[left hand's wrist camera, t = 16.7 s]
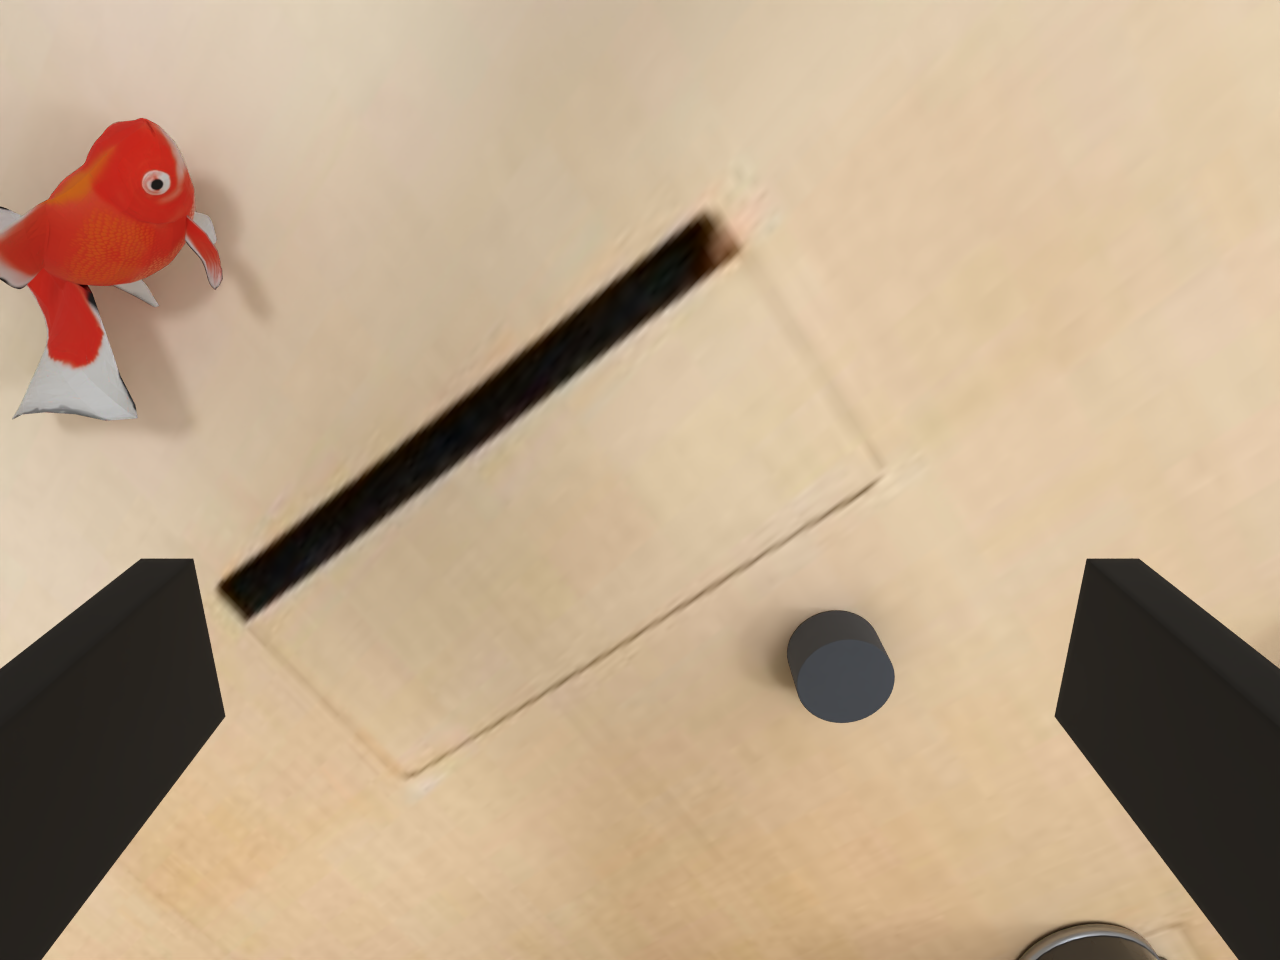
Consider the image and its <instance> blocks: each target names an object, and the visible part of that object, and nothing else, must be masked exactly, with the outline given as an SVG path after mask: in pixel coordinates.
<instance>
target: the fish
mask: <svg viewBox="0 0 1280 960" xmlns="http://www.w3.org/2000/svg"><path fill="white" fill-rule="evenodd" d="M195 207H196V206H195V196H194V187H193V184H192V181H191V178H190V176H189V173H188V170H187V167H186V164H185V162H184V159H183V157H182V155H181V152H180V150H179V148H178V147H177V145H176V143H175V142H174V140H173V139H172V138H171V137H170V136H169V135H168V134H167V133H166V132H165V131H164V130H163V129H162V128H161V127H160V126H158V125H157V124H155V123H153V122H151V121H149V120H147V119H144V118H140V119H137V120H133V121H123V122H116V123H113V124H112V125H110V126H109V127H108V128H107V129H106V130H105V131H104V133H103V134H102V135H101V136H100V137H99V138H98V139H97V140H96V142H95V143H94V144H93V146H92V148H91V150H90V152H89V154H88V156H87V159H86V162H85V163H84V165H82V166H81V167H80V168H79V169H77V170H76V171H74V172H73V173H72V174H70V175H69V176H68V177H66V178H65V179H64V180H63V181H62V182H61V183H60V184H59V185H58V187H57V188H56V189H55V191H54V192H53V193H52V194H51V196H50V198H49V199H48V200H46V201H44V202H42V203H41V204H39V205H37V206H36V207H34V208H33V209H31V210H30V211H29V212H27V213H26V214H24V215H23V216H21V215H19V214H17V213H15V212H13V211H11V210H9V209H6V208H3V207H0V279H1V280H2V281H4V282H5V283H6V284H8V285H10V286H11V287H13V288H17V289H21V288H23V287H25V286H26V285H27V286H28V288H29V289H30V290H31V292H32V294H33V295H34V297H35V299H36V301H37V302H38V304H39V306H40V308H41V310H42V312H43V315H44V318H45V321H46V326H47V343H46V347H45V350H44V352H43V355H42V357H41V360H40V362H39V365H38V367H37V369H36V371H35V373H34V376H33V378H32V380H31V382H30V384H29V386H28V389H27V391H26V393H25V396H24V398H23V400H22V402H21V404H20V406H19V408H18V410H17V412H16V413H15V415H14V417H13V418H12V419H14V418H16V417H18V416H20V415H22V414H30V413H42V412H49V413H66V414H77V415H82V416H87V417H91V418H96V419H101V420H105V421H106V420H119V419H132V418H138V417H137V412H136V406H135V403H134V401H133V400H132V398H131V396H130V394H129V392H128V390H127V388H126V386H125V384H124V382H123V380H122V378H121V376H120V373H119V370H118V367H117V364H116V361H115V358H114V355H113V352H112V349H111V346H110V343H109V340H108V337H107V334H106V332H105V329H104V326H103V323H102V320H101V317H100V314H99V312H98V309H97V306H96V303H95V300H94V297H93V294H92V292H91V290H90V289H89V287H88V285H95V286H111V285H113V286H115V287H117V288H119V289H121V290H123V291H126V292H128V293H130V294H132V295H134V296H136V297H137V298H139V299H141V300H143V301H145V302H146V303H148V304H150V305H152V306H153V307H157V306H159V305H158V303H157V302H156V300H155V298H154V297H153V295H152V293H151V291H150V290H149V288H148V287H147V285H146V284H145V283H144V282H143V281H142V279H144V278H146V277H148V276H150V275H152V274H153V273H155V272H157V271H159V270H160V269H162V268H164V267H165V266H167V265H168V264H169V263H170V262H171V261H172V260H173V259H174V258H175V256H176V255H177V254H178V252H179V251H180V250H181V248H182V247H183V246H184V244H185V242H186V243H187V244H188V245H189V246H190V248H191V249H192V250H193V251H194V252H195V253H196V254H197V255H198V256H199V258H200V259H201V260H202V262H203V264H204V267H205V270H206V273H207V277H208V280H209V283H210V285H211V286H212V287H213V288H214V289H216V288H217V287H218V286H219V285H220V283H221V281H222V279H223V278H222V268H221V266H220V258H219V254H218V251H217V249H216V248H215V246H214V244H215V243H216V241H217V238H216V233H215V230H214V227H213V223H212V221H211V219H210V217H209V216H207V215H206V214H203V213H198V212H196V211H195Z"/></svg>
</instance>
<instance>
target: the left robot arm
mask: <svg viewBox="0 0 1280 960" xmlns="http://www.w3.org/2000/svg"><path fill="white" fill-rule="evenodd" d="M224 718H225V712H224V707H223V702H222V697H221V693H220V688H219V683H218V678H217V673H216V668H215V663H214V658H213V653H212V648H211V643H210V639H209V634H208V629H207V624H206V619H205V614H204V609H203V604H202V599H201V594H200V589H199V584H198V580H197V575H196V570H195V565H194V560H193V559H140V560H139V561H138V562H136V563H135V564H134V565H132V566H131V567H130V568H129V569H127V570H126V571H125V572H124V573H122V574H121V575H120V576H118V577H117V578H116V579H115V580H113V581H112V582H111V583H109V584H108V585H107V586H106V587H104V588H103V589H102V590H101V591H99V592H98V593H97V594H95V595H94V596H93V597H92V598H90V599H89V600H88V601H86V602H85V603H84V604H83V605H81V606H80V607H79V608H78V609H76V610H75V611H74V612H72V613H71V614H70V615H69V616H67V617H66V618H65V619H63V620H62V621H61V622H60V623H58V624H57V625H56V626H55V627H53V628H52V629H51V630H49V631H48V632H47V633H46V634H44V635H43V636H42V637H41V638H39V639H38V640H37V641H35V642H34V643H33V644H32V645H30V646H29V647H28V648H26V649H25V650H24V651H23V652H21V653H20V654H19V655H18V656H16V657H15V658H14V659H12V660H11V661H10V662H9V663H7V664H6V665H5V666H3V667H2V668H1V669H0V960H42V958H43V957H44V956H45V954H46V953H47V952H48V950H49V949H50V948H51V946H52V945H53V944H54V942H55V941H56V940H57V938H58V937H59V936H60V934H61V933H62V932H63V930H64V929H65V928H66V926H67V925H68V924H69V923H70V921H71V920H72V919H73V917H74V916H75V915H76V913H77V912H78V911H79V909H80V908H81V907H82V905H83V904H84V903H85V901H86V900H87V899H88V897H89V896H90V895H91V893H92V892H93V891H94V889H95V888H96V887H97V885H98V884H99V883H100V882H101V880H102V879H103V878H104V876H105V875H106V874H107V872H108V871H109V870H110V868H111V867H112V866H113V864H114V863H115V862H116V860H117V859H118V858H119V856H120V855H121V854H122V852H123V851H124V850H125V848H126V847H127V846H128V844H129V843H130V842H131V841H132V839H133V838H134V837H135V835H136V834H137V833H138V831H139V830H140V829H141V827H142V826H143V825H144V823H145V822H146V821H147V819H148V818H149V817H150V815H151V814H152V813H153V811H154V810H155V809H156V807H157V806H158V805H159V803H160V802H161V801H162V800H163V798H164V797H165V796H166V794H167V793H168V792H169V790H170V789H171V788H172V786H173V785H174V784H175V782H176V781H177V780H178V778H179V777H180V776H181V774H182V773H183V772H184V770H185V769H186V768H187V766H188V765H189V764H190V763H191V761H192V760H193V759H194V757H195V756H196V755H197V753H198V752H199V751H200V749H201V748H202V747H203V745H204V744H205V743H206V741H207V740H208V739H209V737H210V736H211V735H212V733H213V732H214V731H215V729H216V728H217V727H218V725H219V724H220V723H221V722H222V720H223V719H224ZM1055 718H1056V719H1057V720H1058V722H1059V723H1060V724H1061V725H1062V727H1063V728H1064V729H1065V731H1066V732H1067V733H1068V735H1069V736H1070V737H1071V739H1072V740H1073V741H1074V743H1075V744H1076V745H1077V747H1078V748H1079V749H1080V751H1081V752H1082V753H1083V755H1084V756H1085V757H1086V759H1087V760H1088V761H1089V763H1090V764H1091V765H1092V766H1093V768H1094V769H1095V770H1096V772H1097V773H1098V774H1099V776H1100V777H1101V778H1102V780H1103V781H1104V782H1105V784H1106V785H1107V786H1108V788H1109V789H1110V790H1111V792H1112V793H1113V794H1114V796H1115V797H1116V798H1117V800H1118V801H1119V802H1120V804H1121V805H1122V806H1123V807H1124V809H1125V810H1126V811H1127V813H1128V814H1129V815H1130V817H1131V818H1132V819H1133V821H1134V822H1135V823H1136V825H1137V826H1138V827H1139V829H1140V830H1141V831H1142V833H1143V834H1144V835H1145V837H1146V838H1147V839H1148V841H1149V842H1150V843H1151V844H1152V846H1153V847H1154V848H1155V850H1156V851H1157V852H1158V854H1159V855H1160V856H1161V858H1162V859H1163V860H1164V862H1165V863H1166V864H1167V866H1168V867H1169V868H1170V870H1171V871H1172V872H1173V874H1174V875H1175V876H1176V878H1177V879H1178V880H1179V882H1180V883H1181V884H1182V885H1183V887H1184V888H1185V889H1186V891H1187V892H1188V893H1189V895H1190V896H1191V897H1192V899H1193V900H1194V901H1195V903H1196V904H1197V905H1198V907H1199V908H1200V909H1201V911H1202V912H1203V913H1204V915H1205V916H1206V917H1207V919H1208V920H1209V921H1210V923H1211V924H1212V925H1213V926H1214V928H1215V929H1216V930H1217V932H1218V933H1219V934H1220V936H1221V937H1222V938H1223V940H1224V941H1225V942H1226V944H1227V945H1228V946H1229V948H1230V949H1231V950H1232V952H1233V953H1234V954H1235V956H1236V957H1237V958H1238V960H1280V669H1279V668H1278V667H1277V666H1275V665H1274V664H1273V663H1271V662H1270V661H1269V660H1268V659H1266V658H1265V657H1264V656H1262V655H1261V654H1260V653H1259V652H1257V651H1256V650H1255V649H1254V648H1252V647H1251V646H1250V645H1248V644H1247V643H1246V642H1245V641H1243V640H1242V639H1241V638H1239V637H1238V636H1237V635H1236V634H1234V633H1233V632H1232V631H1231V630H1229V629H1228V628H1227V627H1225V626H1224V625H1223V624H1222V623H1220V622H1219V621H1218V620H1217V619H1215V618H1214V617H1213V616H1211V615H1210V614H1209V613H1208V612H1206V611H1205V610H1204V609H1202V608H1201V607H1200V606H1199V605H1197V604H1196V603H1195V602H1194V601H1192V600H1191V599H1190V598H1188V597H1187V596H1186V595H1185V594H1183V593H1182V592H1181V591H1179V590H1178V589H1177V588H1176V587H1174V586H1173V585H1172V584H1171V583H1169V582H1168V581H1167V580H1165V579H1164V578H1163V577H1162V576H1160V575H1159V574H1158V573H1156V572H1155V571H1154V570H1153V569H1151V568H1150V567H1149V566H1148V565H1146V564H1145V563H1144V562H1142V561H1141V560H1140V559H1087V560H1086V565H1085V570H1084V575H1083V580H1082V584H1081V589H1080V594H1079V599H1078V604H1077V609H1076V614H1075V619H1074V624H1073V629H1072V634H1071V639H1070V643H1069V648H1068V653H1067V658H1066V663H1065V668H1064V673H1063V678H1062V683H1061V688H1060V693H1059V697H1058V702H1057V707H1056V712H1055Z"/></svg>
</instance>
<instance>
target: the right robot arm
mask: <svg viewBox="0 0 1280 960" xmlns="http://www.w3.org/2000/svg"><path fill="white" fill-rule="evenodd" d="M1019 960H1166V959H1162V958H1159V957H1158V956H1157V954H1156V953H1155V951H1154V950H1153V948H1152V947H1151V945H1150V944H1149V943H1148V942H1147V941H1146V940H1145V939H1144V938H1143V937H1141V936H1140V935H1138V934H1137V933H1135V932H1133V931H1131V930H1128V929H1126V928H1123V927H1119V926H1115V925H1108V924H1086V925H1079V926H1074V927H1070V928H1066V929H1063V930H1060V931H1058V932H1055V933H1053V934H1051V935H1049V936H1047V937H1045V938H1043V939H1042V940H1040V941H1039V942H1037V943H1036V944H1034V945H1033V946H1032V947H1031V948H1029V949H1028V950H1027V951H1026V952H1025V953H1024V954H1023V956H1022V957H1021V958H1020V959H1019Z"/></svg>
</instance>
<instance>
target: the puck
mask: <svg viewBox="0 0 1280 960" xmlns="http://www.w3.org/2000/svg"><path fill="white" fill-rule="evenodd" d="M787 658H788V663H789V666H790V670H791V673H792V676H793V680H794V683H795V686H796V690H797V693H798V696H799V699H800V701H801V702H802V704H803V705H804V707H805V708H806V709H807V710H808V711H809V712H811V713H812V714H813V715H815V716H817V717H818V718H821V719H823V720H826V721H829V722H835V723H848V722H854V721H858V720H861V719H863V718H866V717H868V716H870V715H872V714H873V713H875V712H876V711H877V710H878V709H880V708H881V707H882V706H883V705H884V704H885V702H886V701H887V700H888V698H889V696H890V694H891V692H892V689H893V686H894V678H895V676H894V669H893V665H892V663H891V661H890V659H889V657H888V655H887V653H886V651H885V649H884V647H883V645H882V643H881V641H880V639H879V637H878V635H877V633H876V631H875V630H874V628H873V627H872V626H871V625H870V623H869V622H867V621H866V620H865V619H864V618H862V617H860V616H858V615H856V614H854V613H850V612H846V611H828V612H823V613H820V614H817V615H815V616H812V617H811V618H809V619H807V620H806V621H804V622H803V623H802V624H801V625H800V626H799V627H798V628H797V629H796V630H795V632H794V633H793V635H792V637H791V639H790V641H789V645H788V650H787Z"/></svg>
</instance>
